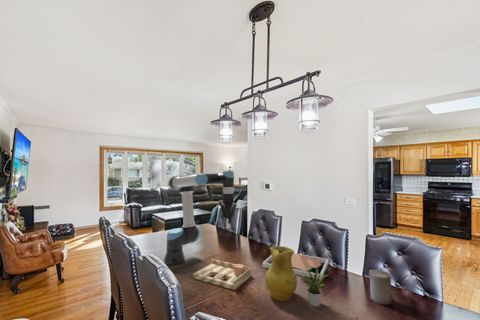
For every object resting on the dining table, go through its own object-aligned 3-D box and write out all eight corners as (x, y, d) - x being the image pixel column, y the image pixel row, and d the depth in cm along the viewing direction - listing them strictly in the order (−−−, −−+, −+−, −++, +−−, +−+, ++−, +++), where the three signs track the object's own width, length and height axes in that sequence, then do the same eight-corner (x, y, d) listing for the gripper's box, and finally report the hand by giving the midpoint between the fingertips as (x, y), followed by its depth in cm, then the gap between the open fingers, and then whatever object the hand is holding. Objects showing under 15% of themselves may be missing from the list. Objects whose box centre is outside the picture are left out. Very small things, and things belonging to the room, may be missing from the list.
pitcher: (258, 294, 127) (260, 247, 128) (278, 284, 140) (280, 242, 141) (284, 308, 114) (286, 257, 116) (303, 296, 127) (305, 250, 129)
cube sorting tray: (193, 277, 147) (193, 269, 147) (212, 266, 165) (212, 259, 165) (235, 290, 132) (235, 281, 132) (251, 275, 150) (251, 267, 150)
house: (311, 277, 147) (310, 264, 147) (268, 263, 169) (268, 252, 169) (325, 267, 164) (325, 255, 164) (285, 255, 186) (285, 245, 186)
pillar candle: (393, 299, 123) (391, 270, 123) (389, 307, 115) (388, 276, 116) (372, 293, 129) (371, 265, 130) (368, 300, 122) (367, 271, 123)
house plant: (324, 295, 126) (324, 264, 127) (336, 310, 113) (335, 276, 113) (299, 295, 126) (298, 265, 127) (307, 311, 112) (306, 276, 113)
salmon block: (234, 274, 146) (234, 266, 146) (238, 271, 150) (238, 263, 151) (241, 276, 143) (241, 268, 144) (245, 273, 148) (245, 265, 148)
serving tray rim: (262, 267, 163) (262, 262, 163) (277, 253, 190) (277, 250, 190) (321, 280, 144) (321, 275, 144) (328, 263, 170) (328, 259, 170)
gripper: (217, 193, 157) (217, 228, 156) (233, 194, 151) (233, 230, 150) (223, 192, 164) (223, 225, 163) (239, 193, 158) (239, 228, 157)
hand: (228, 228), depth 156 cm, fingers closed
